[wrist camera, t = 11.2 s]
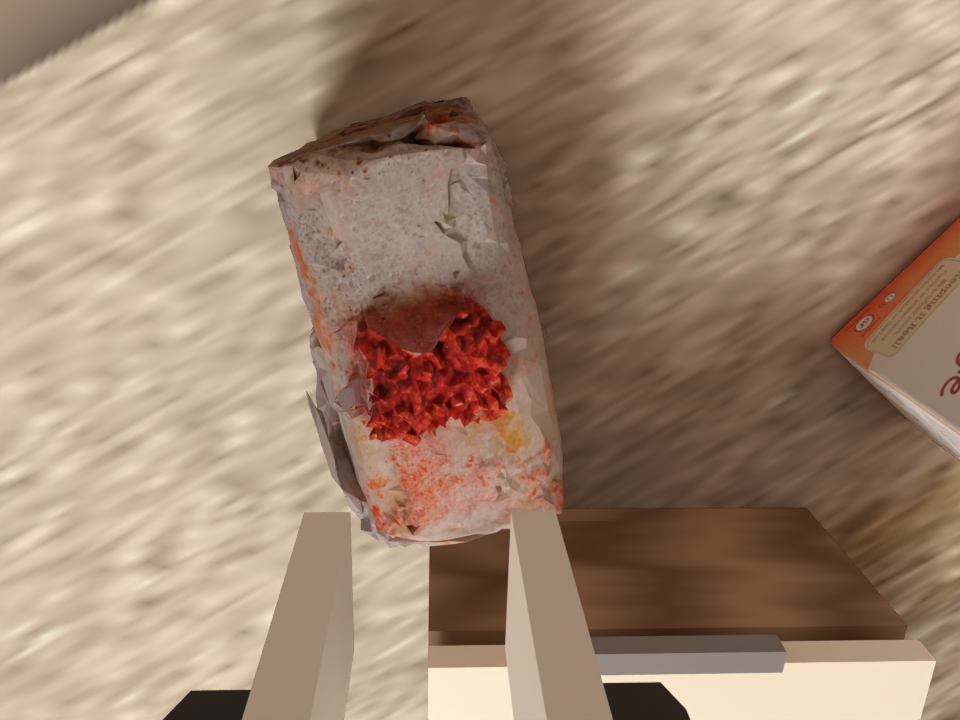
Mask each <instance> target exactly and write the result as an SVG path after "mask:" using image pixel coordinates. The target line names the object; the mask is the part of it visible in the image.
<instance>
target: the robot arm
mask: <svg viewBox="0 0 960 720" xmlns="http://www.w3.org/2000/svg"><path fill="white" fill-rule="evenodd" d="M505 651H506V659H507V668H508V676H509V684H510V692H511V701H512V709H513V717H514V720H690V717H689V715H688V712H687V710H686V708H685V707H684V706H683V705H682V704H681V703H680V702H679V701H678V700H677V699H676V698H675V697H674V696H673V695H672V694H671V693H670V692H669V691H668V689H667V688H666V687H665V686H664V685H663V684H662V683H661V682H629V683H603V682H602V678H601V674H600V671H599V667H598V664H597V660H596V656H595V653H594V649H593V645H592V642H591V638H590V635H589V631H588V627H587V624H586V620H585V616H584V613H583V609H582V605H581V602H580V598H579V595H578V591H577V587H576V584H575V580H574V576H573V573H572V569H571V566H570V562H569V558H568V555H567V551H566V547H565V544H564V540H563V536H562V533H561V529H560V526H559V522H558V518H557V515H556V512H511V525H510V547H509V570H508V593H507V616H506V638H505ZM353 653H354V630H353V592H352V554H351V516H350V512H314V513H304V515H303V519H302V522H301V525H300V529H299V532H298V535H297V539H296V542H295V545H294V548H293V552H292V555H291V558H290V562H289V565H288V568H287V572H286V575H285V578H284V582H283V585H282V588H281V592H280V595H279V598H278V602H277V605H276V608H275V612H274V615H273V618H272V622H271V625H270V628H269V631H268V635H267V638H266V641H265V645H264V648H263V651H262V655H261V658H260V661H259V665H258V668H257V671H256V675H255V678H254V681H253V685H252V688H251V690H206V691H190V692H189V693H188V694H187V695H186V696H185V697H184V699H183V700H182V701H181V702H180V703H179V704H178V705H177V706H176V707H175V708H174V709H173V710H172V711H171V712H170V713H169V714H168V715H167V716H166V717H165V718H164V719H163V720H344V716H345V709H346V702H347V695H348V688H349V681H350V674H351V667H352V660H353Z"/></svg>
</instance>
